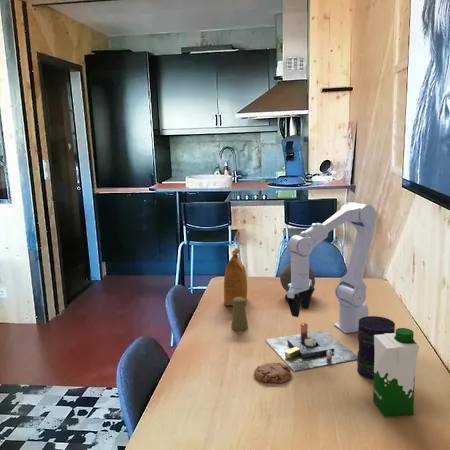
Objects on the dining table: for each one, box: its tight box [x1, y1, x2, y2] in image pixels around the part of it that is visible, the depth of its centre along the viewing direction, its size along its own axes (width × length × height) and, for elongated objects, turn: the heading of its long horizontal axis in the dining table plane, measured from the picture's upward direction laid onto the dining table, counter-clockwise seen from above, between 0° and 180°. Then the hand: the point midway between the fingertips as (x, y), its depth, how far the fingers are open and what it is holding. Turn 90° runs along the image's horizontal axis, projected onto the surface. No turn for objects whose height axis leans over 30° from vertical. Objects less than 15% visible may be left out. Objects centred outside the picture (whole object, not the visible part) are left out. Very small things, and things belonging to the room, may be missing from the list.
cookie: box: [253, 362, 293, 384], centre depth 128 cm, size 10×11×3 cm
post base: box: [264, 329, 358, 373], centre depth 143 cm, size 22×22×3 cm
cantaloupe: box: [279, 262, 316, 297], centre depth 189 cm, size 14×14×15 cm
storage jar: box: [356, 315, 396, 382], centre depth 127 cm, size 10×10×15 cm
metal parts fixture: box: [285, 322, 334, 359], centre depth 142 cm, size 15×11×6 cm
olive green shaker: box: [231, 297, 249, 332], centre depth 161 cm, size 6×6×11 cm
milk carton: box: [372, 327, 420, 418], centre depth 110 cm, size 9×9×20 cm
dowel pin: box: [326, 350, 332, 361], centre depth 136 cm, size 2×2×3 cm
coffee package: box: [223, 247, 248, 307], centre depth 185 cm, size 10×12×22 cm
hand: (300, 312), depth 148 cm, fingers open, 7 cm apart
